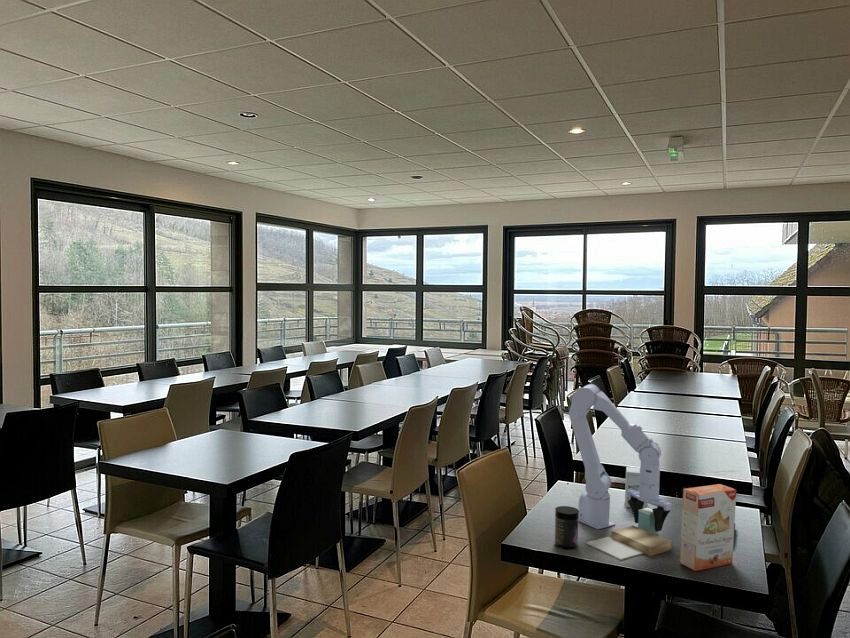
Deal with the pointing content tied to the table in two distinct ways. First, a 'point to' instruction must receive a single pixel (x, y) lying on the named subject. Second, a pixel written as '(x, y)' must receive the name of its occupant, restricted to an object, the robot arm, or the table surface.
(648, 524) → the teal block
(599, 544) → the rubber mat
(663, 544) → the oak slab
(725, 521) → the cracker box
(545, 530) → the table surface
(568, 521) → the supplement container
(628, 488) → the supplement box
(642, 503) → the robot arm
